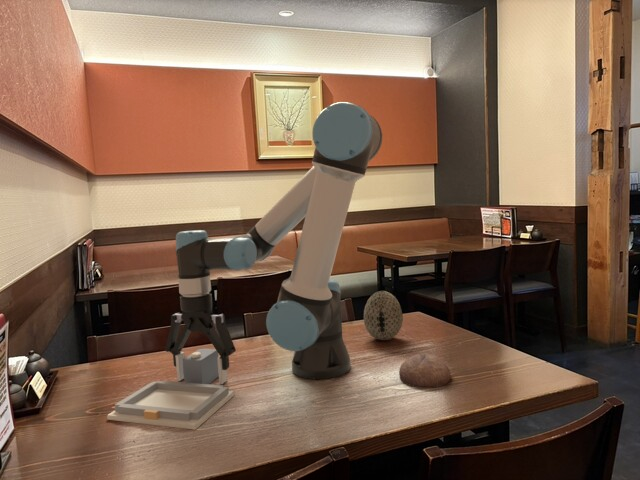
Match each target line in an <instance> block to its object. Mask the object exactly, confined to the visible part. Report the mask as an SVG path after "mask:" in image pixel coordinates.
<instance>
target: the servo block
mask: <svg viewBox="0 0 640 480" xmlns="http://www.w3.org/2000/svg"><path fill="white" fill-rule="evenodd" d="M218 357H219V353H218V352H217V350H216V349H215V348H199V349H197V350H196V351H194V352H192V353H190V354H189V355H187V356H186V357H185V358H184V359H182V360H183V373H184V379H183V382H185V383H198V384H211V383H213V382H214V381H215V380H216V379H217V378H218V379H219V373H218V360H217V358H218Z"/></svg>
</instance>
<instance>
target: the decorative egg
mask: <svg viewBox="0 0 640 480" xmlns="http://www.w3.org/2000/svg"><path fill="white" fill-rule="evenodd" d="M403 320H404V318H403V312H402V307H401V305H400V302H399V301H398V299H397V298H396V296H395V295H393V294H392V293H390V292H388V291H385V290H380V291H376V292H374V293H372V294H371V295H370V297H369V298H368V299H367V301H366V304H365V305H364V309H363V323H364V326H365V327H364V328H365V330H366V331H367V332H368V334H369V335H370V336H371V337H373V338H374V339H376V340H378V341H388V340H391V339H393V338H395V337H396V336H397V335H398V334H399V332H400V331H401V328H402V326H403Z"/></svg>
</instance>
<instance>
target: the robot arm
mask: <svg viewBox="0 0 640 480" xmlns="http://www.w3.org/2000/svg"><path fill="white" fill-rule="evenodd" d="M311 135H312V140H313V144H314V146H315V148H314V151H313V157H312V160H311V164H312V167H311V168H309V170H308V171H307V172H306V173H305V174H303V176H302V177H301V178H300V179H299V180H298V181H297V182H296V183H295V184H294V185H293V186H292V187H291V188H290V189H289V190H288V191H287V192H286V193H285V194H284V195H283V196H282V197H281V199H280V200H278V202H276V203H275V204H274V206H273V207H272V208H271V209H269V211H268V212H266V214H264V215H263V216H262V217H261V219H259V221H257V223H256V224H255V225H254V226H253V227H252V228H251V229H249V231H248V232H247V233H245V234H241V235H235V236H231V237H230V236H229V237H222V238H221V237H220V238H212V237H209V236H208V232H207V231H206V230H203V229H202V230H201V229H198V230H197V229H196V230H185V231H184V230H183V231H179V232H177V233H176V234H175V254H176V261H177V262H176V263H177V272H178V273H177V274H178V277H177V279H178V280H177V281H178V292H179V294H180V296H179V302H180V303H179V304H180V310H181V313H180V312H175V313H174V314H171V315H170V328H169V333H168V336H167V341H166V344H165V349H164V350H165V352H166V353H171V354H172V358H173V359H172V360H173V367H175V369H176V378H177V381H176V382H181V381H182V380H184V373H183V360H182V359H184V358H185V351H183V348H184V346H185V344H186V342H187V340H188V339H189V336H190V335H191V333H194V332H198V333H202V334H204V336H206V337H207V338H208V340H209V342H210V343H211V344H212V346H213V347H214V349H216V350H217V352H218V358H217V360H218V373H219V377H218V385H224V384H225V383H226V382H227V381H228V369H229V368H230V357H229V356H231V355H232V354H234V353H235V352H236V350H237V349H236V347H235V344H234V341H233V339H232V336H231V335H230V331H229V329H228V326H227V324H226V316H225V314H224V313H221V314H214V313H213V297H212V293H211V291H212V285H211V270H217V271H219V270H221V271H222V270H224V271H226V270H228V271H229V270H230V271H232V270H233V271H240V270H249V269H251V268H253V266H254V265H255V264H256V262H257V263H259V262H262V261H264V260H265V259H267V258H269V256H271V255H272V253H273V251H274V248H275V247H276V246H277V245H278V244H279V243H280V242H281V241H283V239H284V238H285V237H286V236H287V235H288V234H289V233H290V232H291V231H292V230H293V229H294V228H296V226H298V224H300V222H301V221H302V220H304V221H303V225H302V229H301V232H300V233H301V234H300V237H299V241H298V246H297V250H296V254H295V258H294V260H293V261H294V262H293V267H292V269H291V274H290V276H289V277H288V278H286V279H284V280H283V281H282V282H281V286H280V289H279V293H278V297H277V301H276V303H274V304H273V305H272V306H271V308H269V311H268V312H267V315H266V321H265V325H266V329H267V332H268V335H269V336H270V338H271V340H272V341H273V342H274V343H275V344H276V345H277V346H278V347H280V348H282V349H284V350H286V351H290V352H293V356H292V359H291V370H292V373H293V375H295V376H297V377H299V378H304V379H309V380H326V379H333V378H337V377H340V376H343V375H345V374H347V373H348V372H349V371H350V370H351V368H352V364H351V357H350V354H349V352H348V349H347V347H346V342H345V340H344V338H343V324H342V323H343V321H342V302H341V299H342V298H341V295H342V292H341V287H340V283H339V282H338V281H336V280H333V279H331V280H330V278H331V276H332V275H331V274H332V272H333V268H334V264H335V260H336V256H337V253H338V250H339V245H340V242H341V237H342V233H343V229H344V226H345V223H346V219H347V215H348V212H349V208H350V205H351V200H352V197H353V193H354V189H355V186H356V183H357V182H358V181H359V180H360V179H363V178H364V177H365V176H366V172H367V168H368V164H369V163H370V162H371V161H372V160H373V159H374V158H375V157H376V155H378V154H379V151H380V150H381V147H382V145H383V144H382V143H383V131H382V128H381V125H380V123H379V122H378V121H377V119H376V118H375V117H374V116H372V115H371V114H369V112H367V110H366V109H365V108H363V107H362V106H360V105H357V104H354V103H352V102H346V101H339V102H336V103H335V102H334V103H332V104H330V105H328V106H327V107H325V108H324V109H323V110H321V112H320V113H319V114H318V115H317V117H316V119H315V120H314V123H313V126H312V134H311ZM182 322H183V324H184V325H183V327H182V328H180V327H181V325H182ZM214 324H215V325H214ZM180 329H181V333H180ZM179 333H180V335H179ZM178 336H179V337H178Z"/></svg>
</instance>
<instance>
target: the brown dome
mask: <svg viewBox="0 0 640 480" xmlns="http://www.w3.org/2000/svg"><path fill="white" fill-rule="evenodd" d="M398 375H399V378H400V380H401V381H402V382H403V383H404V384H406V385H407V386H411V387H415V388H422V389H423V388H424V389H430V388H437V387H442V386H445V385H447V384H448V383H449V381H450V380H451V370H450V368H449V367H448V366H447V364H446V363H445V362H443V361H442V359H440V358H439V357H437V356H435V355H433V354H428V355H427V354H424V353H423V354H422V353H418V354H414V355H412V356H410V357H408V358H406V359H405V360H404V361H403V363H401V365H400V368H399V374H398Z"/></svg>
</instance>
